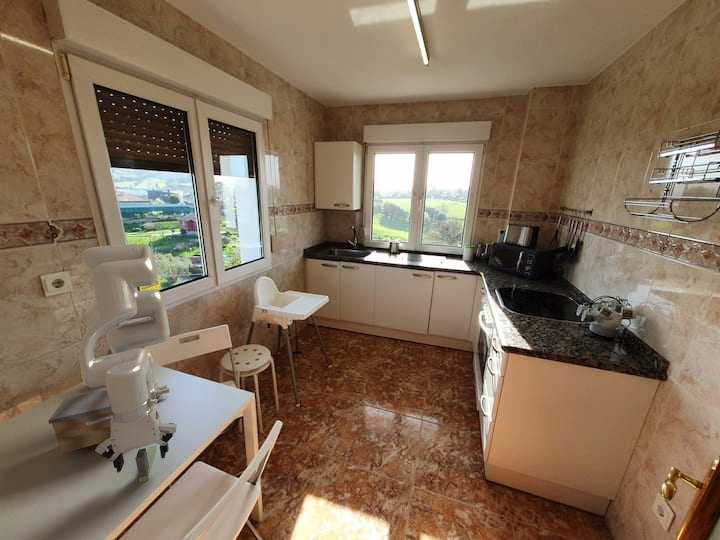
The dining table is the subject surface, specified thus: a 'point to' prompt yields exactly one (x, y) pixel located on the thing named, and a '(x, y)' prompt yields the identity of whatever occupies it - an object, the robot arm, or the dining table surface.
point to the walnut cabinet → (83, 420)
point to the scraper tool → (145, 462)
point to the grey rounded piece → (166, 430)
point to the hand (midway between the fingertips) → (143, 460)
